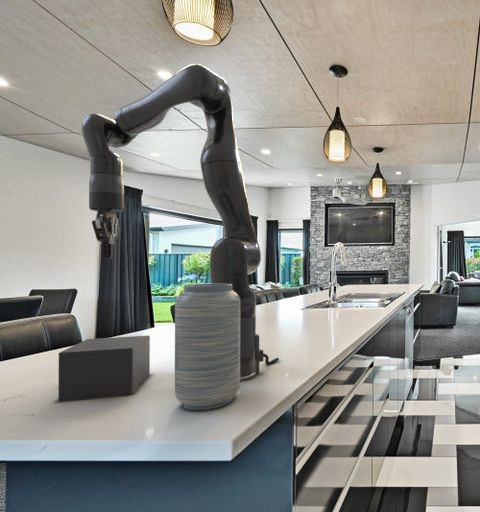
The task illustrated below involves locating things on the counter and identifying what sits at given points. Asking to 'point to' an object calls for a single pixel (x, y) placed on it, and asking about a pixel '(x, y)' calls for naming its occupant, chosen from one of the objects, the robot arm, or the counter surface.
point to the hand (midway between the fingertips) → (107, 258)
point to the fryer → (103, 367)
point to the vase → (207, 345)
